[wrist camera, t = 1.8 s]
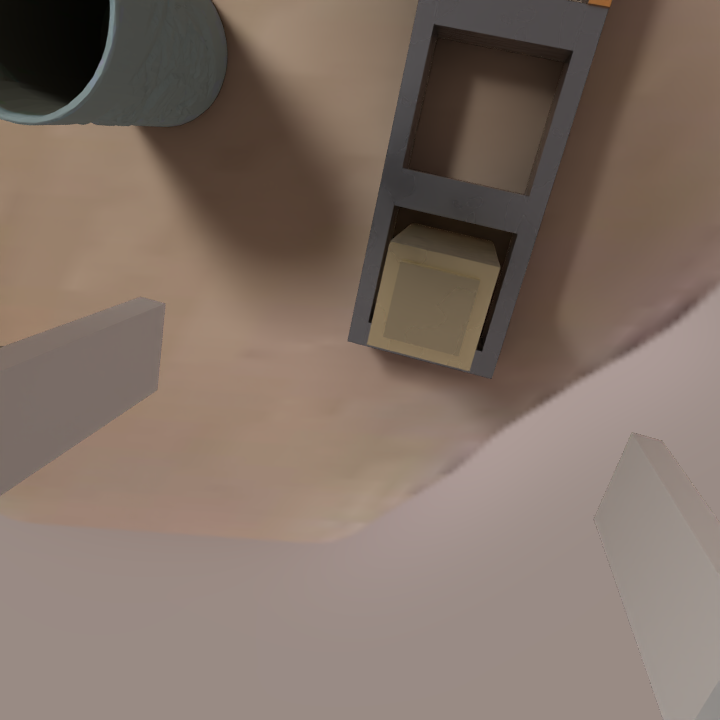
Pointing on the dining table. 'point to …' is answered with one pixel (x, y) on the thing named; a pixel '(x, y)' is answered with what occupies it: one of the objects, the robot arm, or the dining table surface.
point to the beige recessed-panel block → (434, 295)
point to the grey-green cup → (109, 61)
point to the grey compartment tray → (465, 199)
